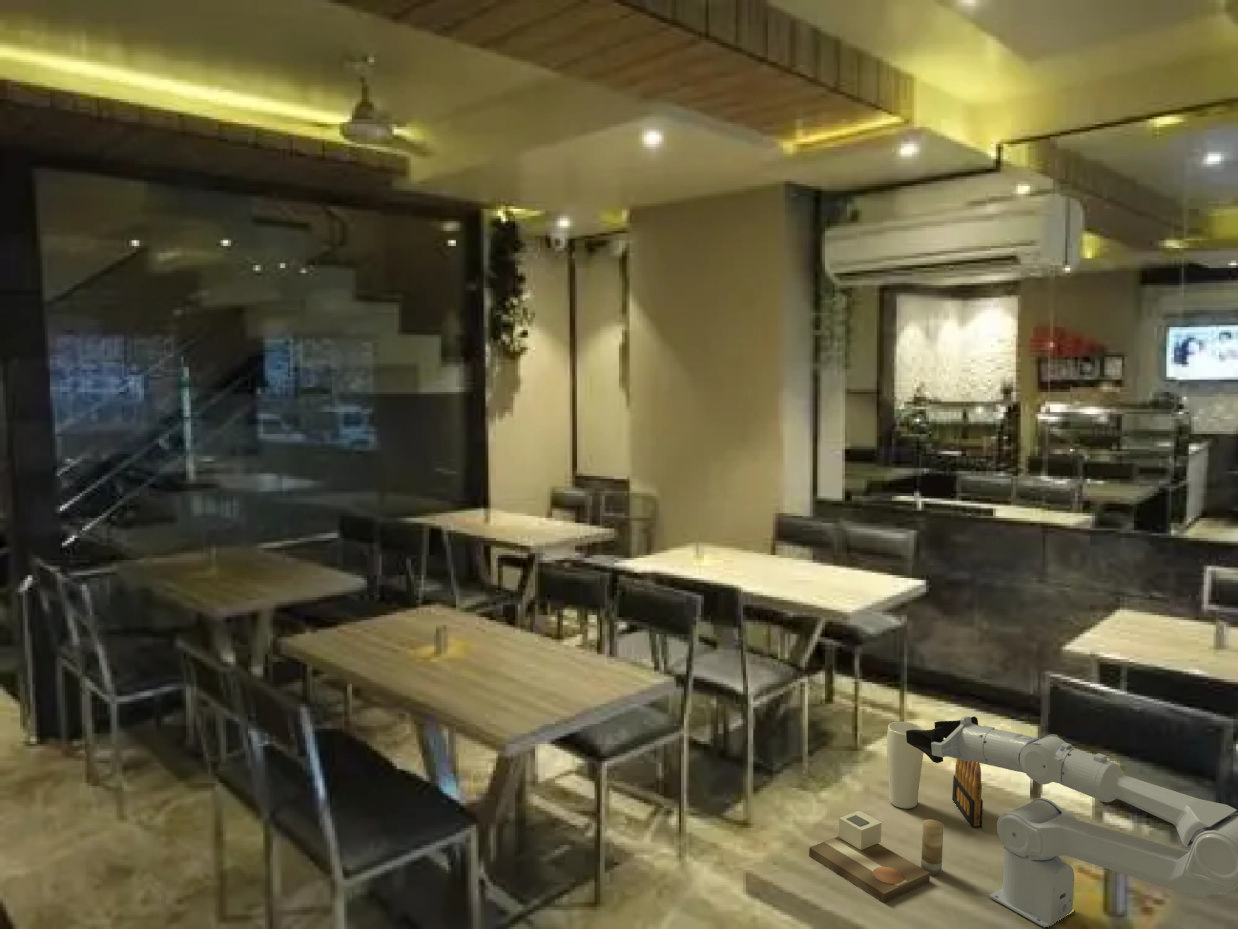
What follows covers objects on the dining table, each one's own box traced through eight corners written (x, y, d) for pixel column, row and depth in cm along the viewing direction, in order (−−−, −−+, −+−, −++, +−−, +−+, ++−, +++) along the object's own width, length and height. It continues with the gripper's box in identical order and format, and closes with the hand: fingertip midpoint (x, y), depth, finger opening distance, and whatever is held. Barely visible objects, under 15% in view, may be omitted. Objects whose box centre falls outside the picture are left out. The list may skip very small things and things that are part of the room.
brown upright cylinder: (945, 872, 146) (947, 826, 145) (933, 878, 144) (935, 831, 143) (929, 863, 149) (931, 817, 148) (916, 868, 147) (918, 823, 146)
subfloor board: (929, 881, 143) (929, 872, 143) (883, 903, 137) (884, 892, 137) (853, 838, 156) (854, 829, 156) (809, 856, 150) (809, 846, 150)
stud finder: (880, 842, 152) (881, 821, 152) (860, 850, 149) (861, 829, 149) (858, 829, 156) (859, 809, 156) (838, 837, 153) (839, 817, 153)
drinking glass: (914, 815, 165) (917, 738, 163) (879, 804, 169) (882, 729, 167) (926, 802, 170) (929, 726, 169) (891, 791, 174) (894, 718, 173)
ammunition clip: (951, 800, 171) (954, 740, 170) (961, 800, 171) (964, 740, 170) (971, 828, 160) (974, 764, 159) (982, 828, 160) (985, 764, 159)
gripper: (1017, 713, 145) (946, 701, 156) (963, 730, 137) (892, 716, 148) (1021, 757, 145) (949, 741, 156) (967, 776, 137) (896, 759, 148)
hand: (922, 732), depth 152 cm, fingers open, 7 cm apart
